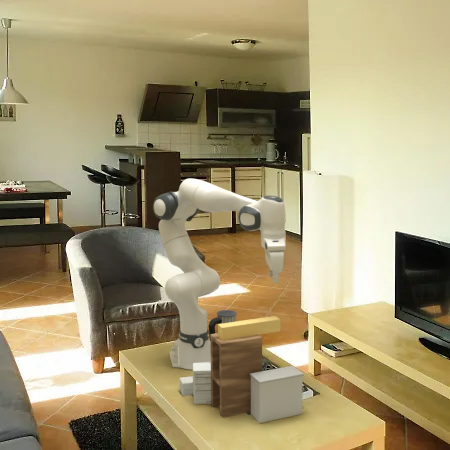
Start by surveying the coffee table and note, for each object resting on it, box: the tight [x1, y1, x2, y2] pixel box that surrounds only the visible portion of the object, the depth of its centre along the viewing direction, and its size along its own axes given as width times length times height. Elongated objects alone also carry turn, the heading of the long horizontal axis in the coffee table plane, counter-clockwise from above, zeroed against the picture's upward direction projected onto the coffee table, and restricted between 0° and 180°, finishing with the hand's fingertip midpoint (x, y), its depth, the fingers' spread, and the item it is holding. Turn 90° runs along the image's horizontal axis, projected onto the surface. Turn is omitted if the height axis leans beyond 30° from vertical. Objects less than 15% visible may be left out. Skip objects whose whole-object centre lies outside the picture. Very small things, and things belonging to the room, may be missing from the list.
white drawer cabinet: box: [192, 362, 211, 405], centre depth 212 cm, size 7×7×13 cm
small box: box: [179, 375, 194, 397], centre depth 219 cm, size 6×6×5 cm
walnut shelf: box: [210, 332, 263, 418], centre depth 205 cm, size 10×15×26 cm, turn 113°
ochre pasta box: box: [218, 315, 281, 340], centre depth 204 cm, size 4×22×4 cm, turn 113°
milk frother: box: [208, 309, 238, 340], centre depth 260 cm, size 14×16×15 cm
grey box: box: [250, 365, 304, 424], centre depth 201 cm, size 7×16×14 cm, turn 113°
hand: (273, 279), depth 213 cm, fingers open, 8 cm apart
